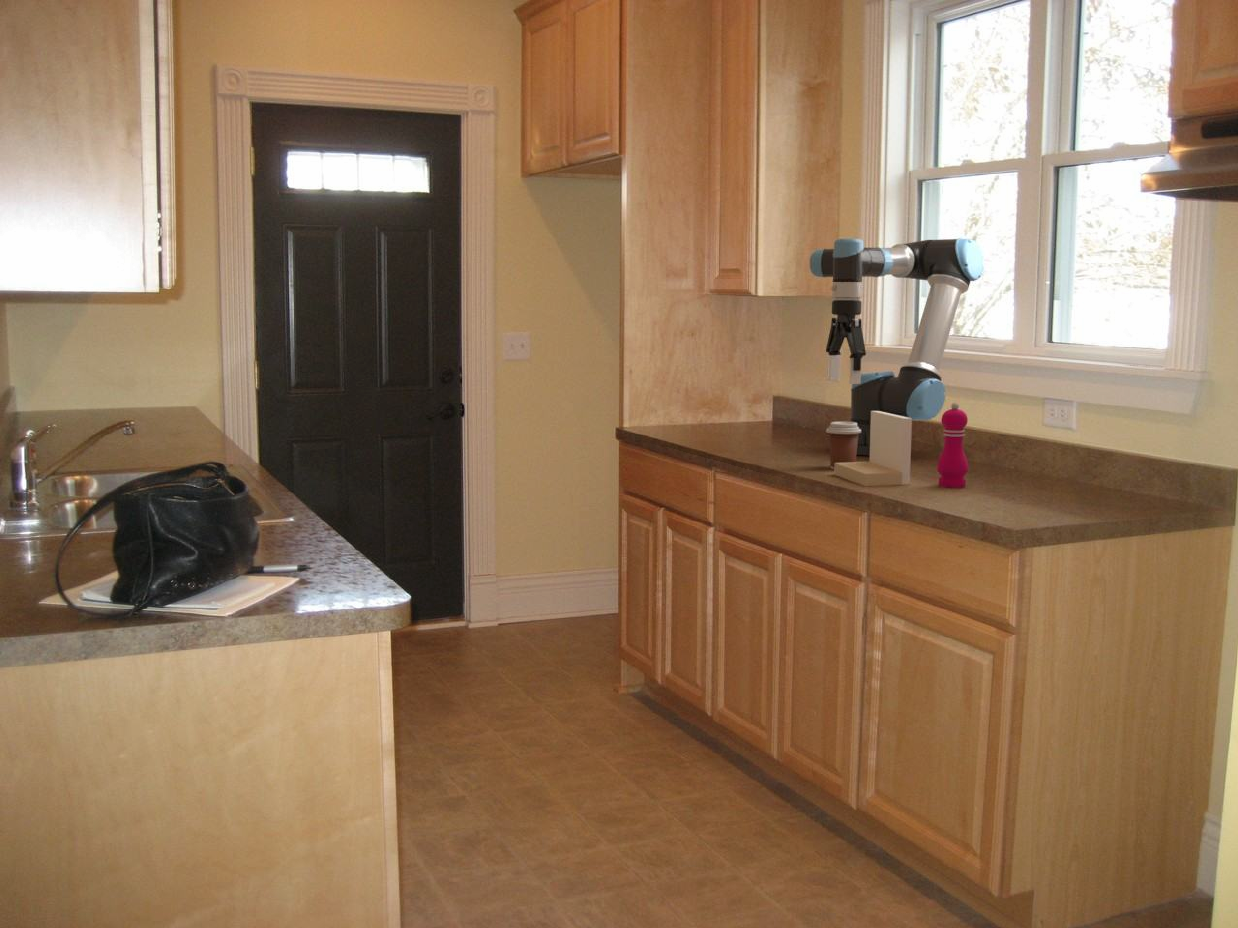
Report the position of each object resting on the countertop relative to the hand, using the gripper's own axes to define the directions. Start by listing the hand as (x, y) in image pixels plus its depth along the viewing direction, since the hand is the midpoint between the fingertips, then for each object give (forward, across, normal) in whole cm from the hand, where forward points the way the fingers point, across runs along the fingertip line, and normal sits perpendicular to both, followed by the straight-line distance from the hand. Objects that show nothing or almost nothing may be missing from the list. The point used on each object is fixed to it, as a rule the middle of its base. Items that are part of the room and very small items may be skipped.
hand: (844, 382), depth 320 cm
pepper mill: (+23, +33, +14) cm, 42 cm away
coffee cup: (+23, 0, 0) cm, 23 cm away
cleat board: (+23, +19, 0) cm, 30 cm away
